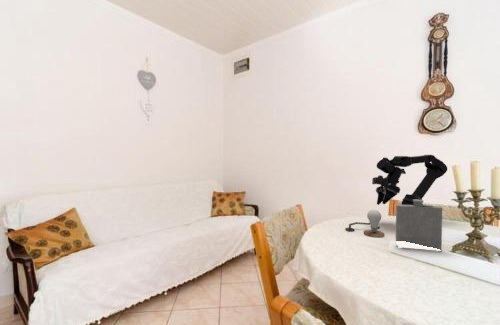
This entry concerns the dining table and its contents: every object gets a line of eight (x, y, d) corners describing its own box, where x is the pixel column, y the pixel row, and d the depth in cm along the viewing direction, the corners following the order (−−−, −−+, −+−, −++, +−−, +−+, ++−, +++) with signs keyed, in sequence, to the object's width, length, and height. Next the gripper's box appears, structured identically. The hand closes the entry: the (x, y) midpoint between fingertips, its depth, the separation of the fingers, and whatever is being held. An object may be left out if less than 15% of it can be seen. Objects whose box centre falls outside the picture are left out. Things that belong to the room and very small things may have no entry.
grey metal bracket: (374, 226, 131) (374, 220, 131) (380, 228, 128) (380, 222, 127) (345, 229, 127) (345, 223, 127) (349, 232, 123) (349, 225, 123)
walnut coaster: (386, 233, 120) (386, 232, 120) (381, 238, 113) (382, 237, 113) (366, 230, 126) (366, 228, 126) (361, 234, 119) (361, 233, 119)
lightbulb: (365, 230, 123) (365, 208, 123) (379, 230, 122) (378, 208, 122) (369, 234, 117) (369, 211, 117) (383, 234, 116) (383, 211, 116)
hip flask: (396, 247, 103) (397, 199, 102) (394, 244, 106) (394, 198, 106) (442, 252, 98) (443, 201, 97) (438, 248, 101) (439, 199, 101)
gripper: (372, 173, 141) (360, 197, 140) (383, 167, 123) (370, 195, 122) (392, 182, 139) (380, 207, 137) (406, 178, 121) (393, 206, 119)
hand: (380, 204), depth 129 cm, fingers open, 9 cm apart
